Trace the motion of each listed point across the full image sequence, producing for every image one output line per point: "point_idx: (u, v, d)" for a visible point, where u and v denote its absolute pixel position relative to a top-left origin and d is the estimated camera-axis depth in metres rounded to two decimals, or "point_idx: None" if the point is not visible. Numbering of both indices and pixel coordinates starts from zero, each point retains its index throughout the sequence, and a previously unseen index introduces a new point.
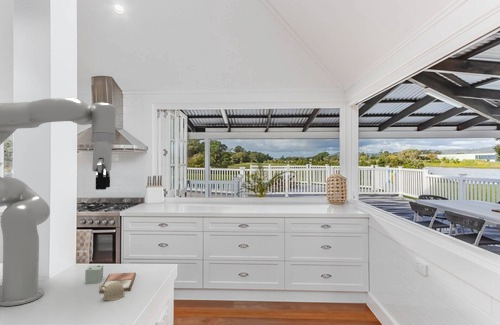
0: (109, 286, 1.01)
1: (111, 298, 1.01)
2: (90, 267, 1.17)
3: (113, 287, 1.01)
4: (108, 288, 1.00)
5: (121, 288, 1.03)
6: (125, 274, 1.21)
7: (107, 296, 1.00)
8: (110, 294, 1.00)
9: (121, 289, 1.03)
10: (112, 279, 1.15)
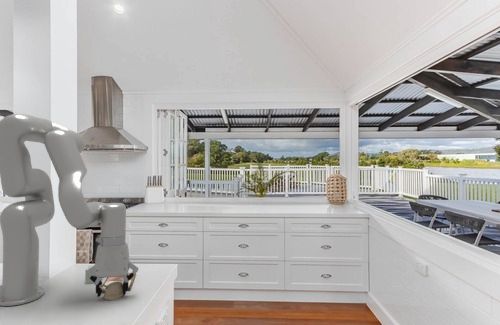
0: (109, 285, 1.01)
1: (111, 297, 1.01)
2: (90, 267, 1.17)
3: (113, 286, 1.01)
4: (108, 287, 1.01)
5: (122, 287, 1.03)
6: None
7: (107, 295, 1.01)
8: (110, 293, 1.01)
9: (121, 288, 1.03)
10: (112, 279, 1.15)
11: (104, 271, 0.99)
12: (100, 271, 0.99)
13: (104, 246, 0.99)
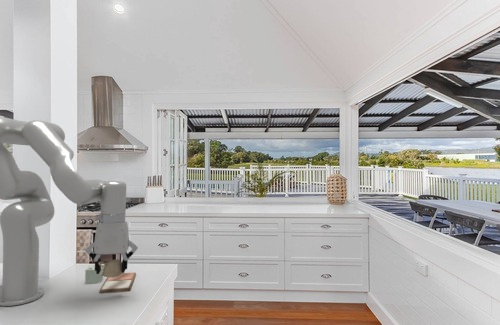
0: (108, 263, 1.01)
1: (110, 275, 1.01)
2: (90, 267, 1.17)
3: (112, 264, 1.01)
4: (107, 265, 1.01)
5: (121, 265, 1.03)
6: (125, 274, 1.21)
7: (106, 273, 1.01)
8: (109, 271, 1.01)
9: (120, 267, 1.03)
10: (112, 279, 1.15)
11: (103, 248, 0.99)
12: (99, 248, 0.99)
13: (104, 223, 0.99)
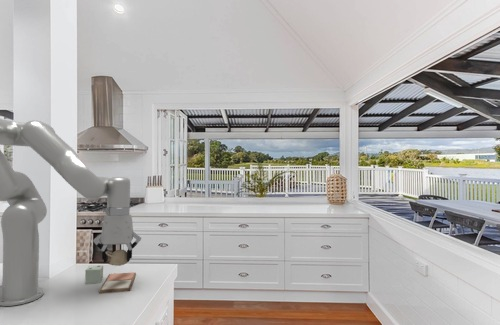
0: (114, 252, 1.10)
1: (116, 263, 1.10)
2: (90, 267, 1.17)
3: (118, 253, 1.10)
4: (114, 254, 1.10)
5: (126, 255, 1.12)
6: (125, 274, 1.21)
7: (113, 261, 1.10)
8: (115, 260, 1.10)
9: (125, 256, 1.12)
10: (112, 279, 1.15)
11: (110, 239, 1.08)
12: (106, 238, 1.08)
13: (110, 216, 1.08)
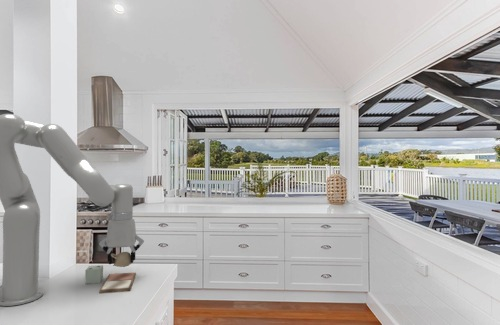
0: (119, 255, 1.18)
1: (121, 265, 1.18)
2: (90, 267, 1.17)
3: (122, 255, 1.18)
4: (118, 256, 1.17)
5: (130, 257, 1.20)
6: (125, 274, 1.21)
7: (117, 263, 1.17)
8: (120, 261, 1.17)
9: (129, 258, 1.20)
10: (112, 279, 1.15)
11: (115, 242, 1.16)
12: (111, 242, 1.15)
13: (114, 220, 1.15)
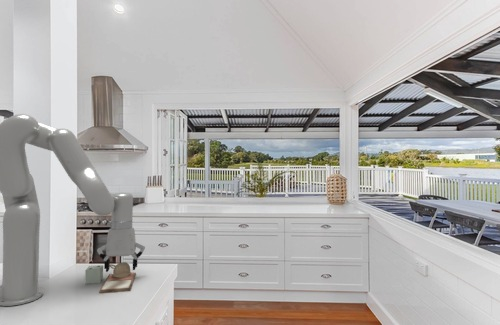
0: (118, 265, 1.18)
1: (119, 275, 1.17)
2: (90, 267, 1.17)
3: (121, 266, 1.18)
4: (117, 267, 1.17)
5: (128, 267, 1.20)
6: None
7: (116, 274, 1.17)
8: (119, 272, 1.17)
9: (128, 268, 1.19)
10: (112, 279, 1.15)
11: (114, 251, 1.16)
12: (111, 251, 1.15)
13: (114, 229, 1.15)
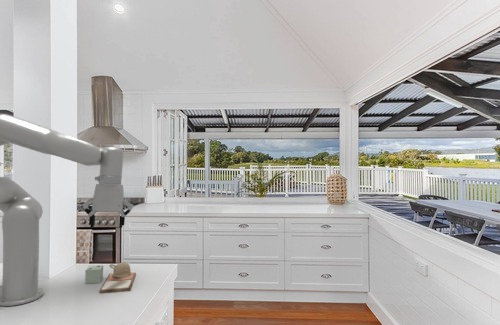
0: (118, 265, 1.18)
1: (119, 275, 1.17)
2: (90, 267, 1.17)
3: (121, 266, 1.18)
4: (117, 267, 1.17)
5: (128, 267, 1.20)
6: None
7: (116, 274, 1.17)
8: (119, 272, 1.17)
9: (128, 268, 1.19)
10: (112, 279, 1.15)
11: (101, 206, 1.11)
12: (97, 205, 1.10)
13: (102, 183, 1.10)
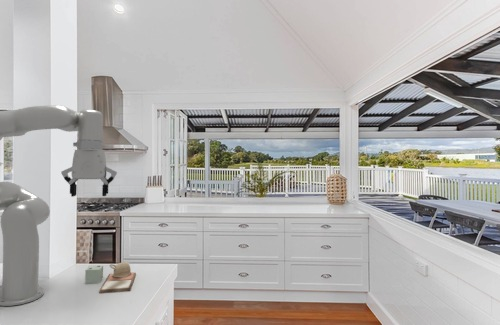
0: (118, 265, 1.18)
1: (120, 275, 1.18)
2: (90, 267, 1.17)
3: (121, 266, 1.18)
4: (117, 267, 1.17)
5: (128, 267, 1.20)
6: None
7: (116, 273, 1.17)
8: (119, 272, 1.17)
9: (128, 268, 1.20)
10: (112, 279, 1.15)
11: (81, 173, 1.03)
12: (77, 172, 1.03)
13: (81, 148, 1.03)
